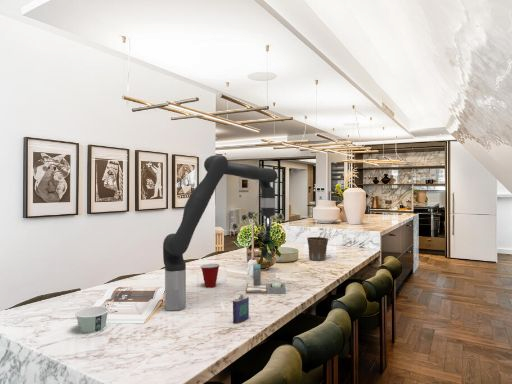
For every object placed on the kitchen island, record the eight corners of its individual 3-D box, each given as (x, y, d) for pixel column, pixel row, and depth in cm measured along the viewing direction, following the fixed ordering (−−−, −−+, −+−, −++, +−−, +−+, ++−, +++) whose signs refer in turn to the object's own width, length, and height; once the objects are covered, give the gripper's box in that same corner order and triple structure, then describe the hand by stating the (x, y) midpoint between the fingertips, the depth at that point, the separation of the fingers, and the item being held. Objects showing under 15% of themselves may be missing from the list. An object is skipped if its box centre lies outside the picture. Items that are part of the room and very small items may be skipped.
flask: (245, 316, 153) (245, 291, 152) (251, 317, 151) (251, 292, 151) (231, 322, 145) (231, 296, 145) (237, 324, 143) (237, 297, 143)
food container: (70, 327, 140) (70, 311, 140) (101, 320, 148) (101, 304, 148) (81, 337, 131) (81, 319, 131) (114, 328, 140) (114, 311, 140)
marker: (260, 285, 197) (260, 265, 197) (253, 285, 197) (253, 265, 197) (260, 283, 201) (260, 264, 201) (253, 284, 201) (253, 264, 201)
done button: (281, 291, 187) (281, 284, 187) (271, 291, 187) (271, 284, 187) (281, 289, 192) (281, 281, 192) (271, 289, 192) (271, 281, 192)
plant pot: (331, 258, 278) (331, 237, 278) (323, 262, 264) (323, 240, 264) (312, 256, 287) (312, 236, 286) (303, 260, 273) (303, 238, 273)
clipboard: (267, 293, 186) (267, 290, 186) (245, 293, 186) (245, 290, 186) (267, 285, 202) (267, 282, 202) (247, 285, 202) (247, 282, 202)
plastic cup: (207, 282, 207) (207, 261, 207) (223, 285, 202) (223, 263, 202) (196, 287, 197) (196, 265, 197) (212, 289, 192) (212, 267, 192)
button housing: (285, 294, 185) (285, 288, 185) (267, 293, 185) (267, 288, 185) (284, 289, 194) (284, 283, 194) (267, 288, 194) (267, 283, 194)
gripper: (275, 207, 186) (275, 241, 186) (274, 206, 199) (274, 237, 199) (260, 207, 186) (260, 241, 186) (261, 206, 199) (261, 237, 199)
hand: (267, 239), depth 192 cm, fingers closed
